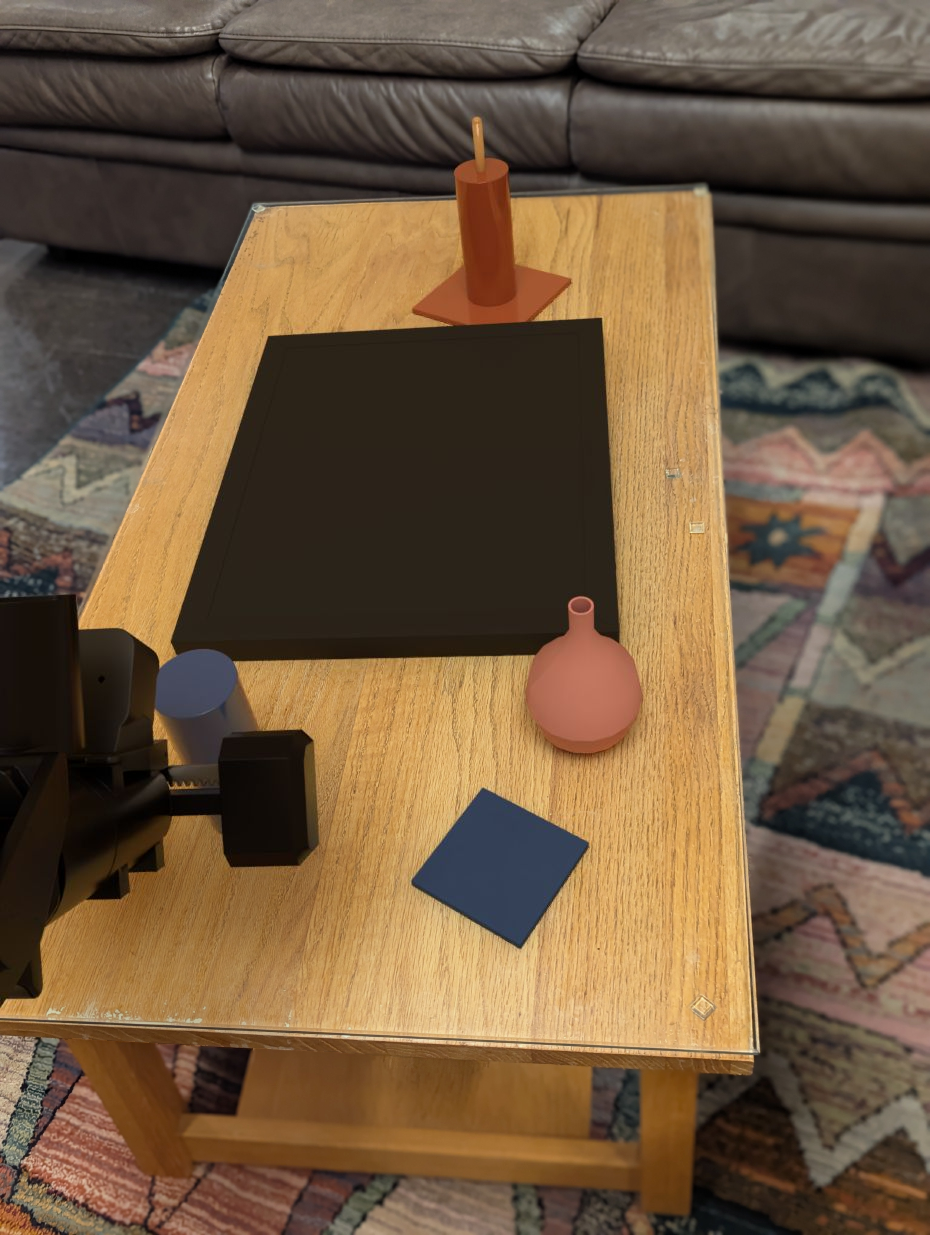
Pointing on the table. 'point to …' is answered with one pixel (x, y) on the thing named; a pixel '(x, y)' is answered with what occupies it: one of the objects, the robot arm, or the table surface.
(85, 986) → the table surface
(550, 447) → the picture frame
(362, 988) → the table surface
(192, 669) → the blue cylinder
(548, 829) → the blue mat
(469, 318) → the terracotta tile
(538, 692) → the terracotta bud vase
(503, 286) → the terracotta candle
